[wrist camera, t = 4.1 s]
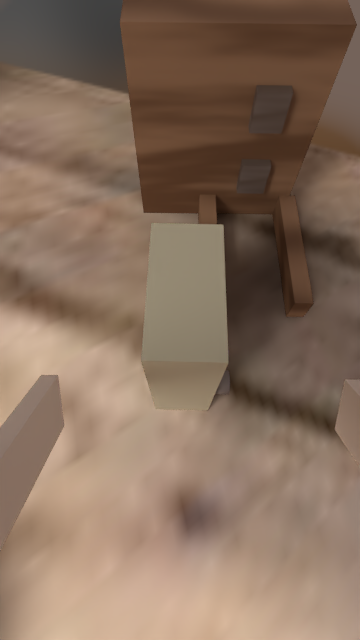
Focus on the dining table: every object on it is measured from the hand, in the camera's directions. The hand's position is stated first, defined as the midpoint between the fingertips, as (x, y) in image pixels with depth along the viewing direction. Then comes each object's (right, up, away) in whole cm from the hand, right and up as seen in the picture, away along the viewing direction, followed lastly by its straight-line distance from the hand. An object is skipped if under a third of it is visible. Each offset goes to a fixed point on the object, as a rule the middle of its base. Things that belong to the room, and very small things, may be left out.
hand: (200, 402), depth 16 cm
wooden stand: (+3, +11, +17) cm, 20 cm away
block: (-1, 0, +12) cm, 12 cm away
